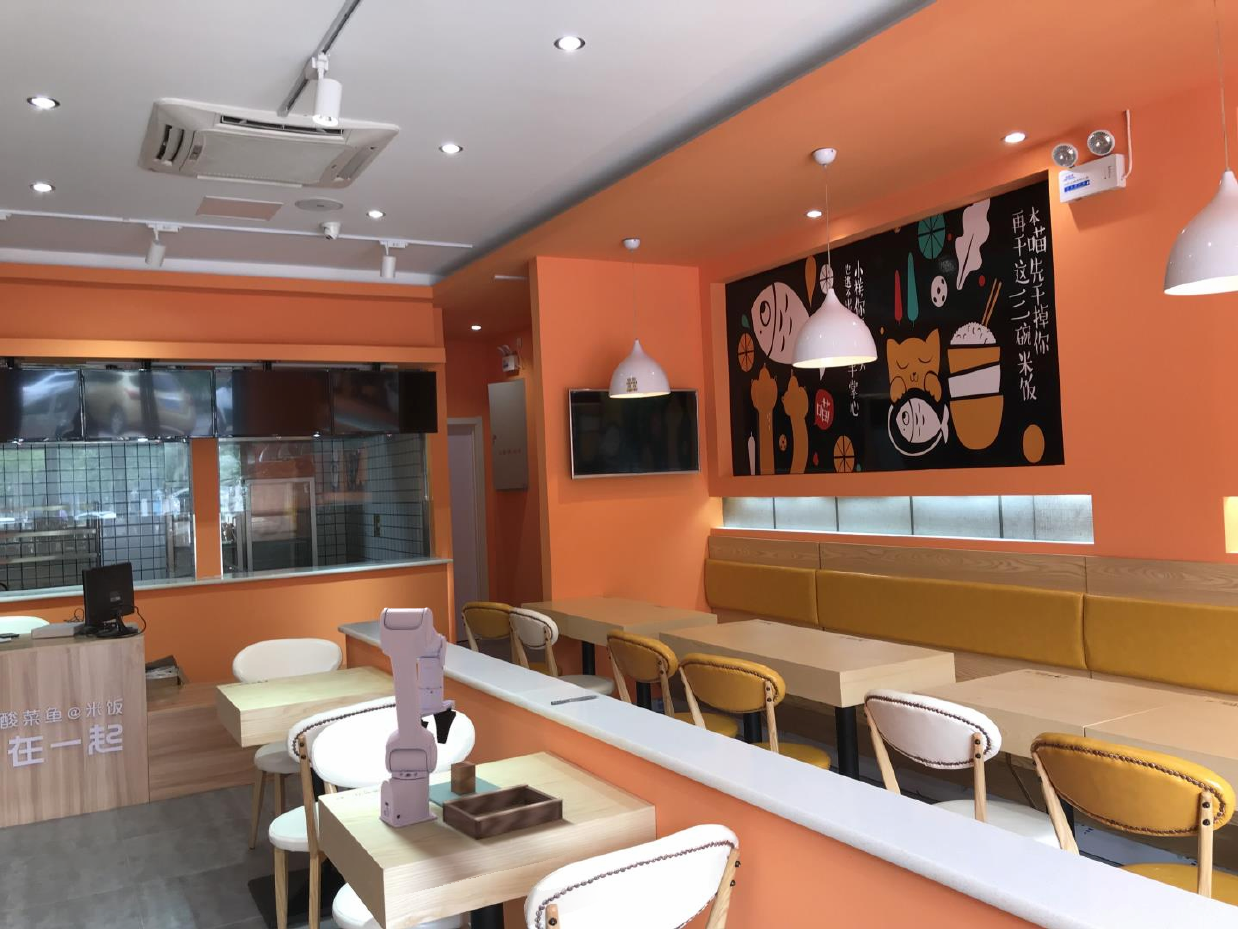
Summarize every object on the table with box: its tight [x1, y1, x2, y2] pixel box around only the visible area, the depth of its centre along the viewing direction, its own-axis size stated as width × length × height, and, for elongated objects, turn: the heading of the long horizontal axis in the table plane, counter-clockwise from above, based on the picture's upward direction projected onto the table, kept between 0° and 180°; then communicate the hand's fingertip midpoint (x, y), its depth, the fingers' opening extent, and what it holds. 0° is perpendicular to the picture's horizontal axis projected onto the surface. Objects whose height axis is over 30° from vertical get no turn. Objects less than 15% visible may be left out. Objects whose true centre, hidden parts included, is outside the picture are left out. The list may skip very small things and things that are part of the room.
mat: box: [429, 776, 504, 808], centre depth 216 cm, size 16×16×1 cm
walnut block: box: [450, 760, 477, 795], centre depth 215 cm, size 4×4×6 cm
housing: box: [442, 783, 564, 840], centre depth 198 cm, size 20×14×4 cm
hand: (430, 747), depth 219 cm, fingers open, 7 cm apart
